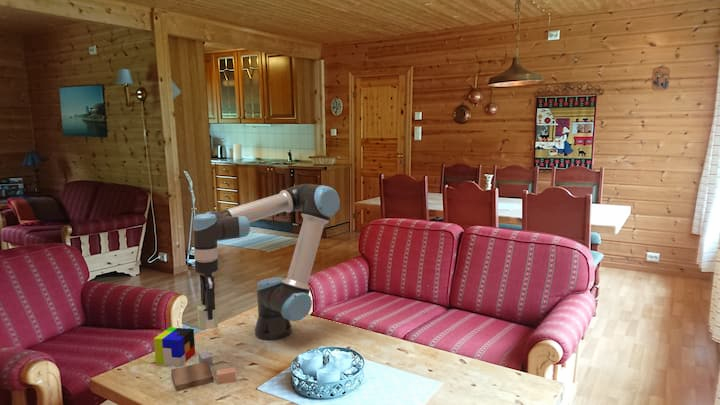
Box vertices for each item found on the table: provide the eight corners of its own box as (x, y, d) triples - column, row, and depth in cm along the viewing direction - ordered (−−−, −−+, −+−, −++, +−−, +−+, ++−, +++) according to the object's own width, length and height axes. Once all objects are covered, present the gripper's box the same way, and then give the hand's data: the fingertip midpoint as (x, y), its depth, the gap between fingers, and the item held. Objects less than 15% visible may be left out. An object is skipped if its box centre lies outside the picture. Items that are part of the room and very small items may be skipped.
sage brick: (215, 323, 170) (215, 304, 169) (217, 327, 166) (217, 307, 165) (197, 326, 167) (197, 306, 166) (199, 330, 163) (199, 310, 162)
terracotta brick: (234, 376, 167) (234, 367, 166) (235, 381, 163) (235, 371, 163) (216, 379, 165) (216, 370, 164) (217, 384, 161) (216, 375, 161)
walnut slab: (207, 366, 174) (206, 361, 173) (213, 381, 163) (213, 376, 163) (171, 374, 168) (171, 369, 168) (176, 391, 158) (175, 385, 157)
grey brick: (198, 361, 178) (198, 352, 177) (208, 358, 180) (207, 349, 179) (202, 368, 173) (202, 358, 172) (212, 365, 175) (212, 356, 174)
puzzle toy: (180, 366, 174) (178, 340, 172) (156, 364, 176) (153, 338, 174) (195, 353, 184) (193, 329, 182) (171, 351, 186) (169, 327, 184)
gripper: (190, 255, 169) (193, 319, 172) (199, 267, 154) (202, 336, 157) (212, 253, 172) (214, 315, 176) (223, 264, 158) (225, 332, 161)
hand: (208, 325), depth 166 cm, fingers closed on sage brick, 4 cm apart
